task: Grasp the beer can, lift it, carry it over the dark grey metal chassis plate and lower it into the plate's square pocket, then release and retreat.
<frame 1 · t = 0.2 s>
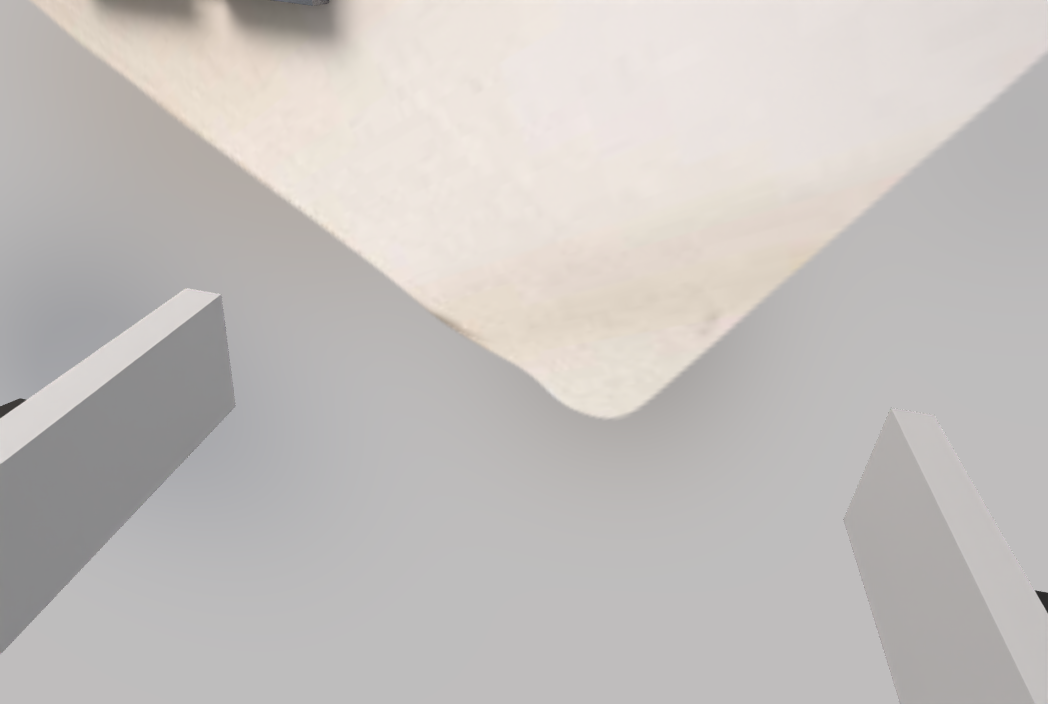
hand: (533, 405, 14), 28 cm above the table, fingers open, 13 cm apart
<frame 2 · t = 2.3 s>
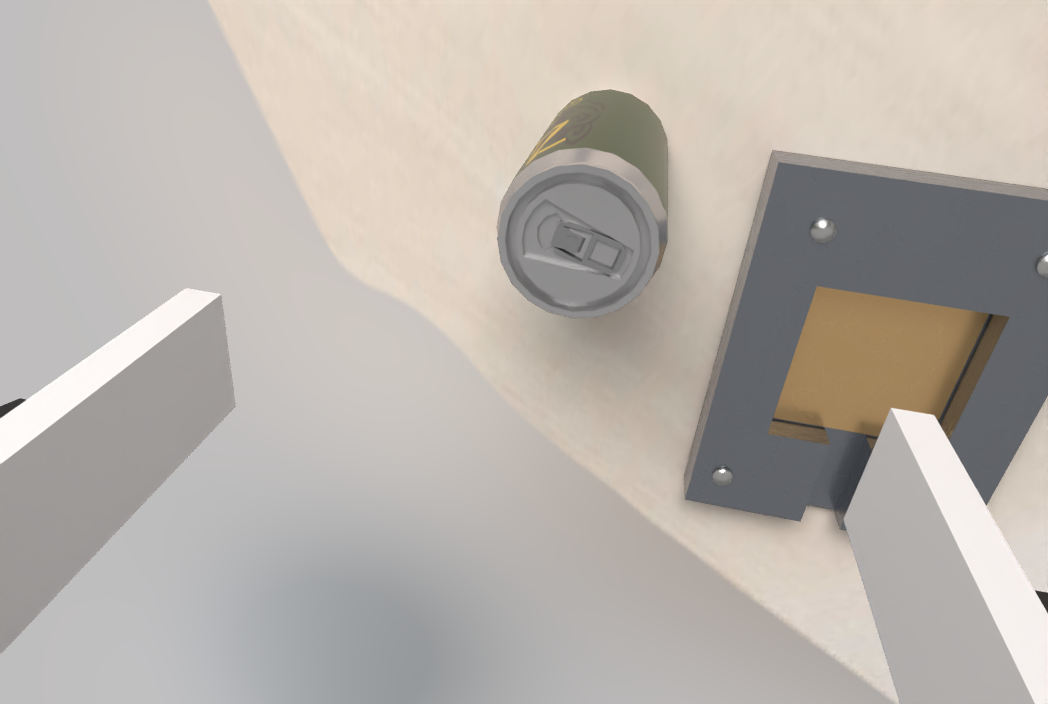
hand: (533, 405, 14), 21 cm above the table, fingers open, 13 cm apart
chassis plate: (869, 358, 35), on the table
beer can: (607, 149, 32), on the table
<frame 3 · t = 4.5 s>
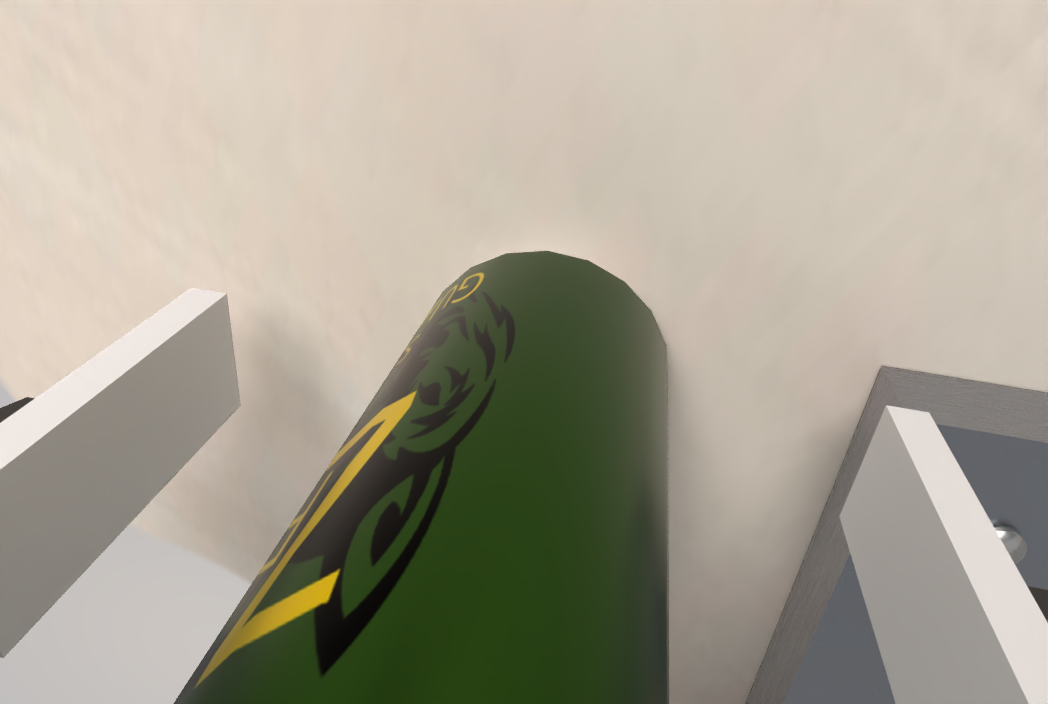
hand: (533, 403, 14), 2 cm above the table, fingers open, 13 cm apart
chassis plate: (1039, 703, 19), on the table
beer can: (548, 346, 16), on the table
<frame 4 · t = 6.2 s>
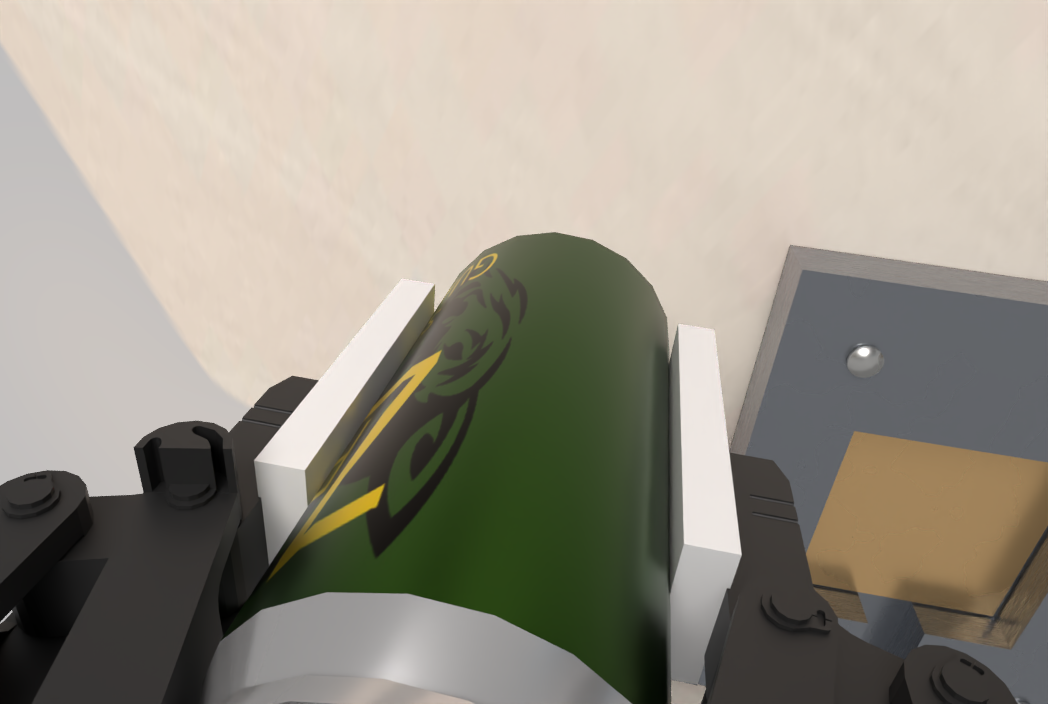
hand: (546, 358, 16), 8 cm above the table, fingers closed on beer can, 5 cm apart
chassis plate: (918, 508, 26), on the table
beer can: (558, 323, 18), point 6 cm above the table, touching gripper
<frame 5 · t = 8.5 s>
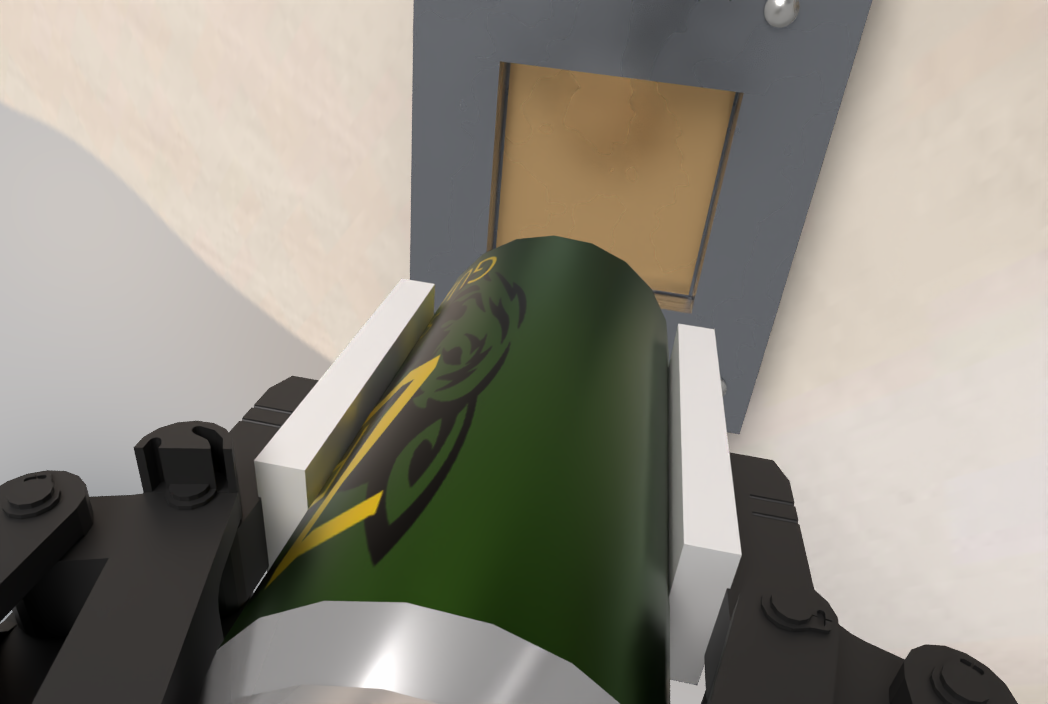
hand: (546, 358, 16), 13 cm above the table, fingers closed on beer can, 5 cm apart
chassis plate: (606, 179, 27), on the table
beer can: (557, 326, 18), point 11 cm above the table, touching gripper
when the fingers open (2 cm above the table, at t = 10.8 s): beer can stays where it is, resting on chassis plate.
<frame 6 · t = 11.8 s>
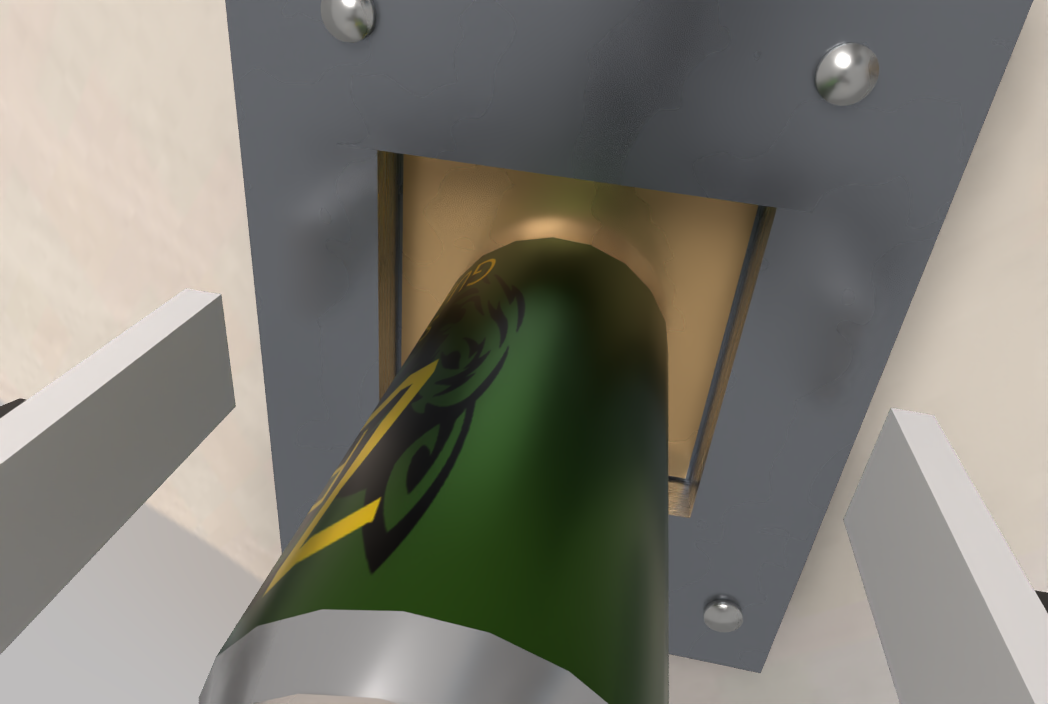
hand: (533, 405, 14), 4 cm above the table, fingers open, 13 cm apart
chassis plate: (560, 313, 18), on the table
beer can: (557, 328, 18), resting on chassis plate
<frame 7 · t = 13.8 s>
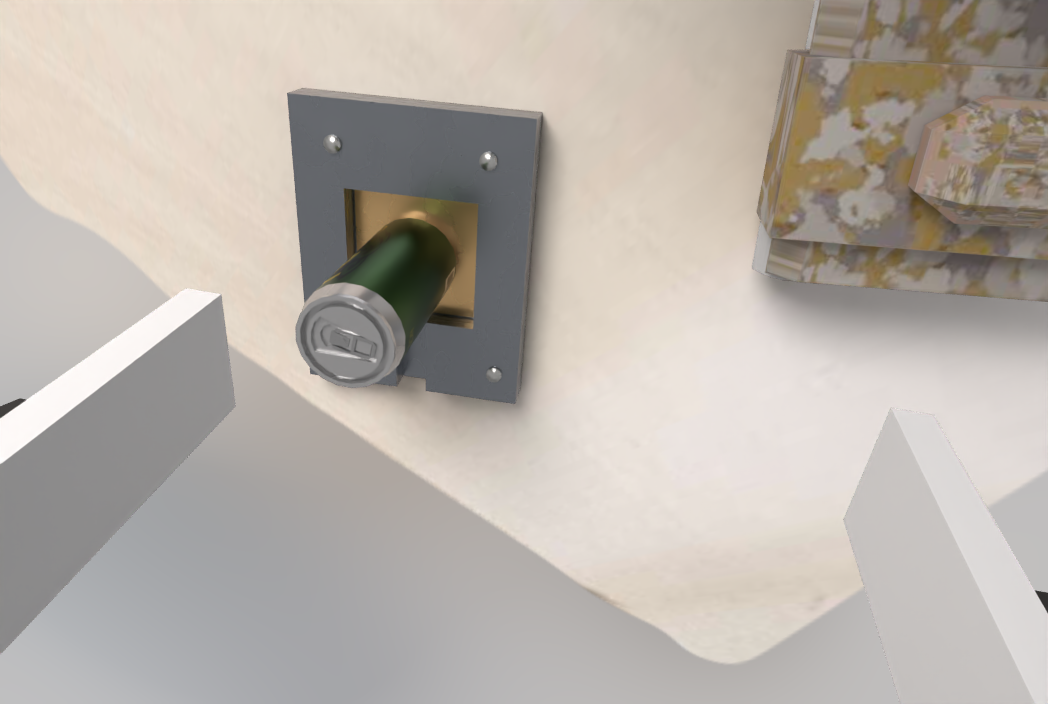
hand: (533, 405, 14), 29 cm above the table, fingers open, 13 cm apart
chassis plate: (420, 249, 45), on the table
beer can: (418, 255, 45), resting on chassis plate
toy tank: (962, 140, 38), on the table
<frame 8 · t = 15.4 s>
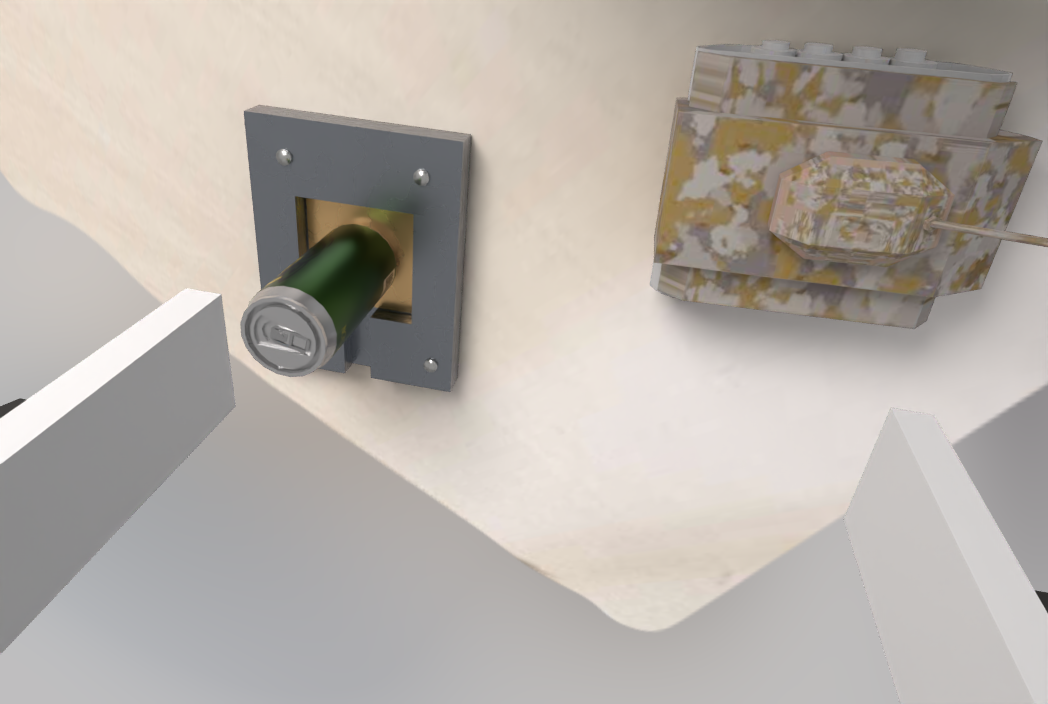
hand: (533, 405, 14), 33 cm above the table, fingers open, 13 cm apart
chassis plate: (365, 251, 50), on the table
beer can: (363, 256, 50), resting on chassis plate
toy tank: (834, 180, 43), on the table
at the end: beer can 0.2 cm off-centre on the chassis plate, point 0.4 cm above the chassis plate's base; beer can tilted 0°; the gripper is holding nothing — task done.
